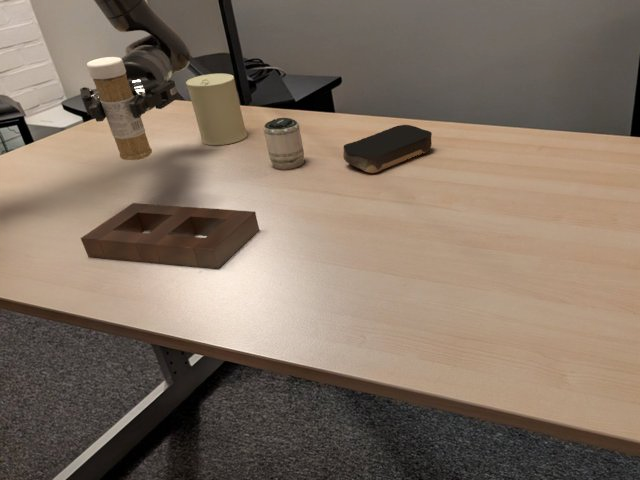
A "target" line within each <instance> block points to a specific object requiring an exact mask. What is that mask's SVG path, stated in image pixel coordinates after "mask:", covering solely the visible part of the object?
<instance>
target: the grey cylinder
mask: <svg viewBox="0 0 640 480" xmlns="http://www.w3.org/2000/svg"><path fill="white" fill-rule="evenodd" d="M300 129H301V128H300V124H299V122H298V121H297V120H295V119H292V118H289V117H278V118H274V119H272V120H269V121H267V122H266V123H265V124H264V125H263V129H262V130H263V134H264V139H265V143H266V148H267V152H268V158H269V160H270V162H271V164H272V166H273V167H272V168H274V169H276V170H293V169H296V168H299V167H301V166H302V165H304V164H305V163H304V162H305V161H304V159H305V151H304V146H303V141H302V133H301V130H300Z"/></svg>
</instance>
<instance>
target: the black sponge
mask: <svg viewBox="0 0 640 480" xmlns="http://www.w3.org/2000/svg"><path fill="white" fill-rule="evenodd" d="M432 135H433V132H431V131H430V130H427V129H423V128H421V127H418V126H415V125H410V124H400V125H396V126H393V127H390V128H387V129H385V130H382V131H380V132H377V133H375V134H372V135H369V136H367V137H363V138H361V139H358V140H356V141H352V142H348V143H346V144H344V145H343V160H344V161H345V162H346V163H347V164H349V165H350V166H353V167H355V168H357V169H360V170H361V171H364V172H366V173H369V174H377V173H379V172H381V171H383V170H387V169H388V168H390V167H392V166H393V167H394V166H395V165H398V164H400V163H402V162H405V161H408V160H410V159H412V157H413V158H416V157H418V156H420V155H423V154H426V153H428V152H430V150H431V149H432ZM422 153H423V154H422ZM417 155H418V156H417ZM415 156H416V157H415ZM407 159H408V160H407Z"/></svg>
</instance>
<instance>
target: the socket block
mask: <svg viewBox="0 0 640 480" xmlns="http://www.w3.org/2000/svg"><path fill="white" fill-rule="evenodd" d="M144 231H147V232H144ZM259 231H260V226H259V222H258V217H257V214H256V211H254V210H252V211H250V210H240V209H239V210H237V209H226V208H225V209H224V208H211V207H209V208H208V207H197V206H196V207H195V206H194V207H193V206H182V205H181V206H180V205H169V204H155V203H140V202H139V203H137V202H133V203H131V204H129V205H128V206H126V207H125V208H123V209H122V210H120V211H119V212H117V213H116V214H114V215H113V216H111V217H109V218H108V219H107V220H106V221H104V222H102V223H101V224H100V225H97V226H96V227H94V228H93V229H92V230H90V231H89V232H87V233H86V234H84V235H83V236H81V237H80V240H81V243H82V245H83V248H84V251H85V253H86V255H87V257H88V258H96V259H98V258H99V259H108V260H118V261H129V262H138V263H139V262H140V263H151V264H161V265H173V266H183V267H192V268H193V267H194V268H205V269H206V268H208V269H216V270H217V269H220V268H221V267H222V266H223V265H224V264H225V263H226V262H227V261H229V259H231V257H232V256H234V255H235V254H236V253H237V252H238V251H239V250H240V249H241V248H242V247H243V246H244V245H245V244H246V243H248V241H249V240H250V239H252V238H253V236H255V235H256V234H257V232H259ZM196 235H200V237H199V236H196ZM201 236H206V237H201Z"/></svg>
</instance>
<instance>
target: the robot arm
mask: <svg viewBox="0 0 640 480" xmlns="http://www.w3.org/2000/svg"><path fill="white" fill-rule="evenodd" d="M93 1H94V2H95V4H96V6H97V7H98V8H99V10H100V11H101V13H102V14H103V15H104V17H105V18H106V19H107V22H109V23H110V25H111V26H112V27H113V29H115V30H116V31H118V32H121V33H131V32H137V31H143V32H145V33H147V34H148V35H147V36H144V37H142V38H140V39H137V40H135V41H133V42H132V43H130V44H128V45H127V46H126V47H125V50H124V52H125V54H124V56H122V58H121V59H122V61H123V63H124V66H125V69H126V75H127V80H128V82H129V86H130V88H131V91H132V94H133V96H134V97H133V98H132V100H131V101H130V102H129V105H130V108H131V111H132V114H133V117H134V118H140V117H141V118H142V115H144V114H146V113H147V112H150V111H151V110H152V109H156V110H162V109H164V108H165V107H167V106H168V105H171V104H172V103H173V102H174V101H176V100H178V99H179V94H178V89H177V85H176V83H175V80H173V79H172V75H174V74H177V73H179V72H181V71H183V70H185V69H186V68H188V67H189V66H190V64H191V57H192V56H191V52H190V49H189V46H188V44H187V43H186V41H185V40H184V39H183V38H182V36H181V35H180V34H179V33H178V32H177V31H176V30H174V29H173V28H172V27H171V26H170V25H169V24H168V23H167V22H166V21H164V19H163V18H162V17H161V16H160V15H159V14H158V13H157V12H156V11H155V10H154V9H153V8H152V7H151V5H149V3H148V2H147V1H146V0H93ZM79 91H80V97H81V100H82V104H83V106H84V108H85V111H86V114H87V115H88V116H91V118H92V120H95V121H96V123H97V122H103V121H105V120H106V119H107V118H106V115H105V113H104V110H103V107H102V104H101V101H100V97H99V94H98V91H94V90H93V88H89V87H86V86H83V87H81V88H80V89H79Z"/></svg>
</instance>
